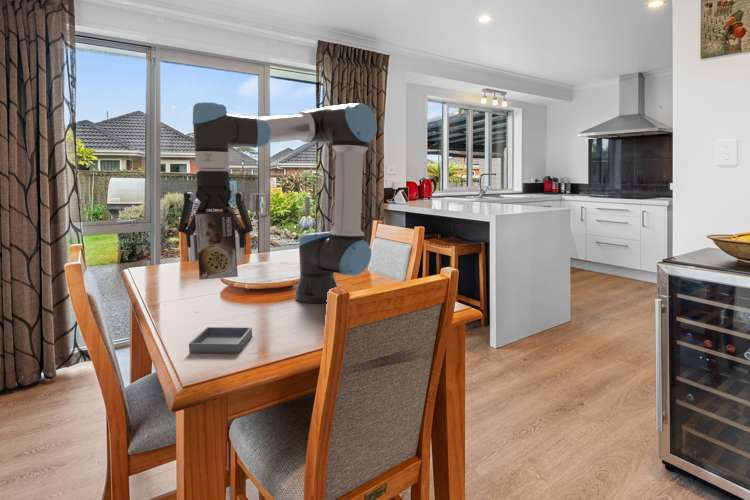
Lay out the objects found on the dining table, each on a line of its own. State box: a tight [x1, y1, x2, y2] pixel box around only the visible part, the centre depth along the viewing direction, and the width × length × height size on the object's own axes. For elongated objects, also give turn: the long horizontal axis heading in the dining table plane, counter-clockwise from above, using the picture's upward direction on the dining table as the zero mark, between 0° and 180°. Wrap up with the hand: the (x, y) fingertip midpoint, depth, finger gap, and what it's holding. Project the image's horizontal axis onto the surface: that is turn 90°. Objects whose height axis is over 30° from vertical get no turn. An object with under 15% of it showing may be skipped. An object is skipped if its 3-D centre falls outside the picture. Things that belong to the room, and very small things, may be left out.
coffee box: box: [194, 210, 239, 280], centre depth 113 cm, size 9×6×16 cm
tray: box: [188, 326, 253, 355], centre depth 118 cm, size 12×12×2 cm
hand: (217, 260), depth 114 cm, fingers closed on coffee box, 10 cm apart
